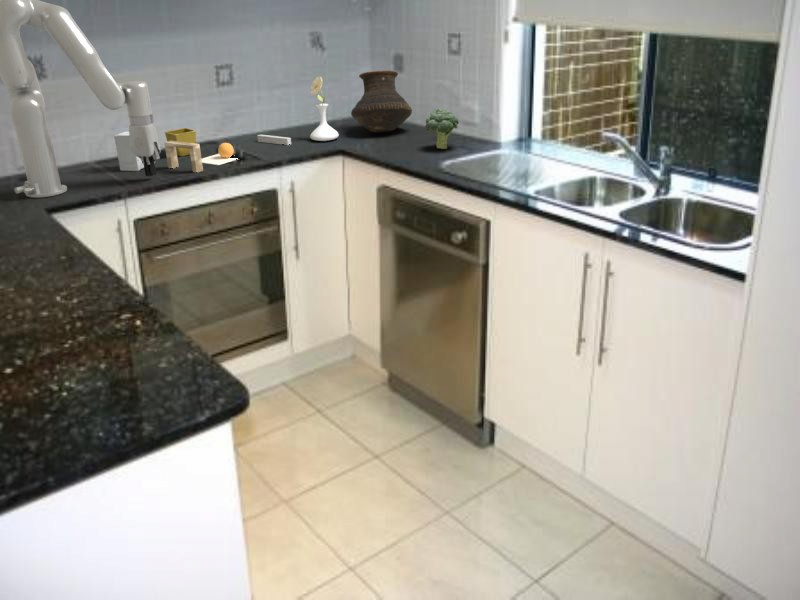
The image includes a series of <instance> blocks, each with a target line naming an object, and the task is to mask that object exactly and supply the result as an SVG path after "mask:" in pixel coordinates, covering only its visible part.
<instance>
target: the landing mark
mask: <svg viewBox="0 0 800 600" xmlns="http://www.w3.org/2000/svg"><path fill="white" fill-rule="evenodd" d="M201 159H202V164H208V165H215V166H220V165H223V164H226V163H230V162H234V161H237V160H239V159H238V158H223V157H221V156H220V155H219V153H216V154H213V155H209V156H206V157H203V158H202V157H201ZM236 159H237V160H236Z"/></svg>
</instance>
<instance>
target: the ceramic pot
mask: <svg viewBox="0 0 800 600" xmlns="http://www.w3.org/2000/svg"><path fill="white" fill-rule="evenodd" d="M398 75H399V73H398V72H397V71H394V70H374V71H373V70H372V71H366V72H362V73H360V74H359V76H358V78H360V79H361V80H362V83H363V92H364V93H363V95H362V96H361V98H360V100H358V101H357V103H356V104H355V106H354V107H352V109H351V112H350V114H351V116H352V118H353V119H355V121H356V122H357V123H359V125H362V126H363V127H364V128H366V130H368V131H370V132H371V133H374V134H382V133H388V132H390V133H391V132H393V131H394V130H396V129H397V128H398V127H400V126H402V125H403V123H404V122H406V120H407V119H409V117H410V116H411V115H412V111H413V109H412V107H411V106H410V105H409V103H408V102H407V101H406V100H405V98H404V97H403V96H401V94H400V93H398V91H397V90H396V78H397V77H398Z"/></svg>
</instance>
